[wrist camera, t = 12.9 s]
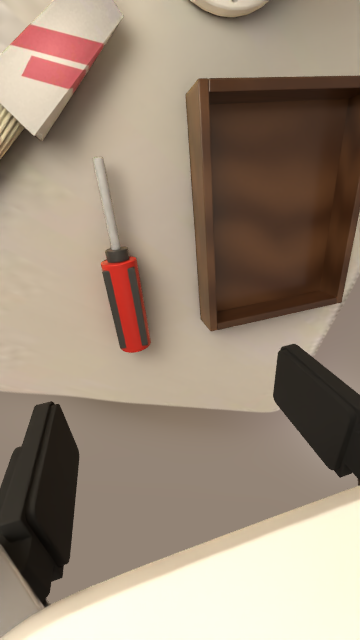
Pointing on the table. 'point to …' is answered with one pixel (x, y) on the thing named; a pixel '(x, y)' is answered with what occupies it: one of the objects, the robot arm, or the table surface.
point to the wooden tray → (273, 193)
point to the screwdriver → (122, 278)
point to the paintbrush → (50, 64)
